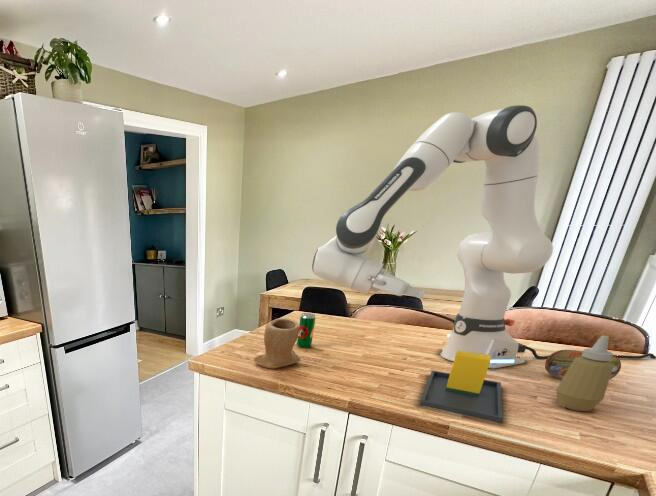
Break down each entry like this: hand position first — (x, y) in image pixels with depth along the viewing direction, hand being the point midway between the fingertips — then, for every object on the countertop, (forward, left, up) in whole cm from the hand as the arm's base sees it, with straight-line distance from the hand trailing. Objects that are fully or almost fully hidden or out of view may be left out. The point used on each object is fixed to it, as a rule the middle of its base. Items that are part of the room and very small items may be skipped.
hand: (422, 294), depth 106 cm
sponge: (-9, +11, -24) cm, 28 cm away
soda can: (+13, -34, -25) cm, 44 cm away
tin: (-47, +8, -25) cm, 54 cm away
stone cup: (+30, -17, -25) cm, 42 cm away
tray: (-6, +14, -25) cm, 29 cm away
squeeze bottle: (-28, +23, -25) cm, 44 cm away
